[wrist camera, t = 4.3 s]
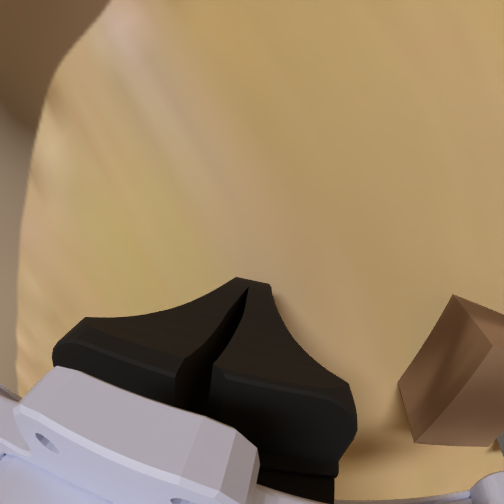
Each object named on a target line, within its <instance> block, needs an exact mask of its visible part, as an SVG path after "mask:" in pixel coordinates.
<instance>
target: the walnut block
mask: <svg viewBox="0 0 504 504" xmlns="http://www.w3.org/2000/svg"><path fill="white" fill-rule="evenodd" d="M398 385H399V388H400V391H401V395H402V398H403V402H404V406H405V409H406V413H407V417H408V421H409V425H410V429H411V433H412V437H413V441H414V443H419V444H431V445H446V446H474V447H488V446H490V445H491V444H492V443H493V442H494V441H495V440H496V439H497V437H498V436H499V435H500V434H501V433H502V432H503V431H504V315H503V314H501V313H498V312H496V311H493V310H491V309H488V308H486V307H483V306H481V305H478V304H476V303H474V302H471V301H469V300H466V299H463V298H461V297H458V296H456V295H452V297H451V299H450V300H449V302H448V304H447V306H446V308H445V309H444V311H443V313H442V315H441V316H440V318H439V320H438V322H437V323H436V325H435V327H434V328H433V330H432V332H431V333H430V335H429V336H428V338H427V340H426V341H425V343H424V344H423V346H422V347H421V349H420V351H419V352H418V354H417V355H416V357H415V358H414V360H413V361H412V362H411V364H410V365H409V367H408V368H407V370H406V371H405V373H404V374H403V375H402V377H401V378H400V380H399V381H398Z"/></svg>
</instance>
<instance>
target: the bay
mask: <svg viewBox="0 0 504 504" xmlns="http://www.w3.org/2000/svg"><path fill="white" fill-rule="evenodd" d="M497 441H498V444H499V446H500V449H501V451H502V454H503V456H504V431H503V432H502V433H501V434H500V435H499V436H498V437H497Z"/></svg>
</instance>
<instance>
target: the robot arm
mask: <svg viewBox="0 0 504 504" xmlns="http://www.w3.org/2000/svg"><path fill="white" fill-rule="evenodd" d="M52 360H53V366H54V368H53V369H51V370H50V371H48V372H47V373H46V374H45V375H44V376H43V377H42V378H41V379H40V380H39V381H38V382H37V383H36V384H35V385H34V387H33V388H32V389H31V390H30V391H29V392H28V393H27V394H26V395H25V396H24V397H23V398H21V397H20V396H18V395H17V394H15V393H14V392H12V391H11V390H10V389H8V388H7V387H5V386H4V385H3V384H1V383H0V504H504V471H500V472H496V473H492V474H489V475H487V476H485V477H483V478H482V479H480V480H479V481H478V482H477V483H476V484H475V485H474V486H473V487H472V488H471V489H470V490H467V491H462V492H456V493H450V494H444V495H437V496H429V497H420V498H409V499H395V500H334V478H336V477H337V476H338V472H339V465H338V461H339V460H340V458H341V457H342V455H343V454H344V453H345V451H346V450H347V448H348V447H349V445H350V444H351V442H352V441H353V439H354V437H355V435H356V432H357V413H356V407H355V403H354V400H353V396H352V393H351V390H350V387H349V384H348V383H347V382H345V381H344V380H342V379H341V378H339V377H337V376H336V375H334V374H333V373H331V372H330V371H328V370H327V369H325V368H324V367H323V366H321V365H320V364H319V363H318V362H316V361H315V360H314V359H313V358H312V357H311V356H309V355H308V354H307V353H306V352H305V351H304V350H303V348H302V347H301V346H300V345H299V344H298V343H297V342H296V341H295V340H294V338H293V337H292V335H291V334H290V333H289V331H288V329H287V328H286V326H285V324H284V322H283V321H282V319H281V317H280V315H279V312H278V310H277V307H276V305H275V302H274V299H273V296H272V290H271V286H270V285H269V284H267V283H262V282H257V281H252V280H248V279H243V278H238V277H236V278H234V279H232V280H230V281H229V282H227V283H226V284H224V285H222V286H221V287H219V288H217V289H216V290H214V291H212V292H210V293H208V294H206V295H204V296H202V297H200V298H198V299H196V300H194V301H191V302H189V303H186V304H184V305H181V306H178V307H175V308H172V309H168V310H164V311H159V312H155V313H150V314H145V315H138V316H129V317H115V318H97V317H85V318H84V319H83V320H81V321H80V322H79V323H78V324H77V325H76V326H75V327H74V328H73V329H71V330H70V331H69V332H68V333H67V334H66V335H65V336H64V337H63V338H62V339H60V340H59V341H58V342H57V344H56V345H55V347H54V348H53V353H52Z"/></svg>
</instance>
